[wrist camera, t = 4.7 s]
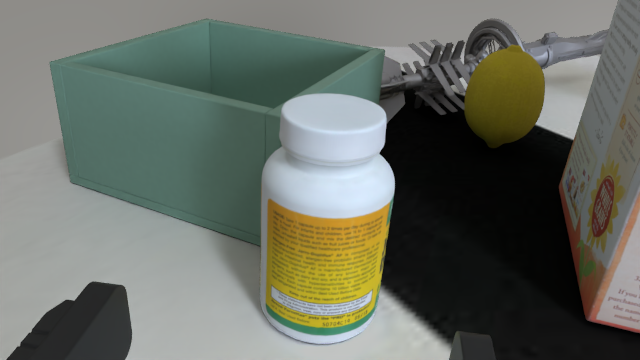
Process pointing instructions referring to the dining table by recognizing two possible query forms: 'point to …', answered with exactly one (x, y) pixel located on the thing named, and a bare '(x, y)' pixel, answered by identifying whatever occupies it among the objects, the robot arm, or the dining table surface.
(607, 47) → the cracker box
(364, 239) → the supplement bottle
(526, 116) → the lemon
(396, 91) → the spaceship
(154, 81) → the open storage box
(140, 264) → the dining table surface
